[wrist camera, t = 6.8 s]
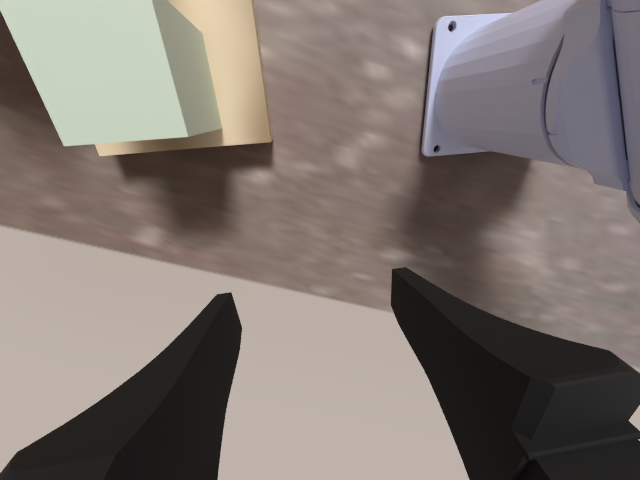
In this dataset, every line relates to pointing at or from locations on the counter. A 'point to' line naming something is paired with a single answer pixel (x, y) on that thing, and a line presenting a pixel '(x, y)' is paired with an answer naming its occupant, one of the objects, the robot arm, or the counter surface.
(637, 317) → the counter surface
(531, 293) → the counter surface
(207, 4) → the oak slab
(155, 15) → the sage block
